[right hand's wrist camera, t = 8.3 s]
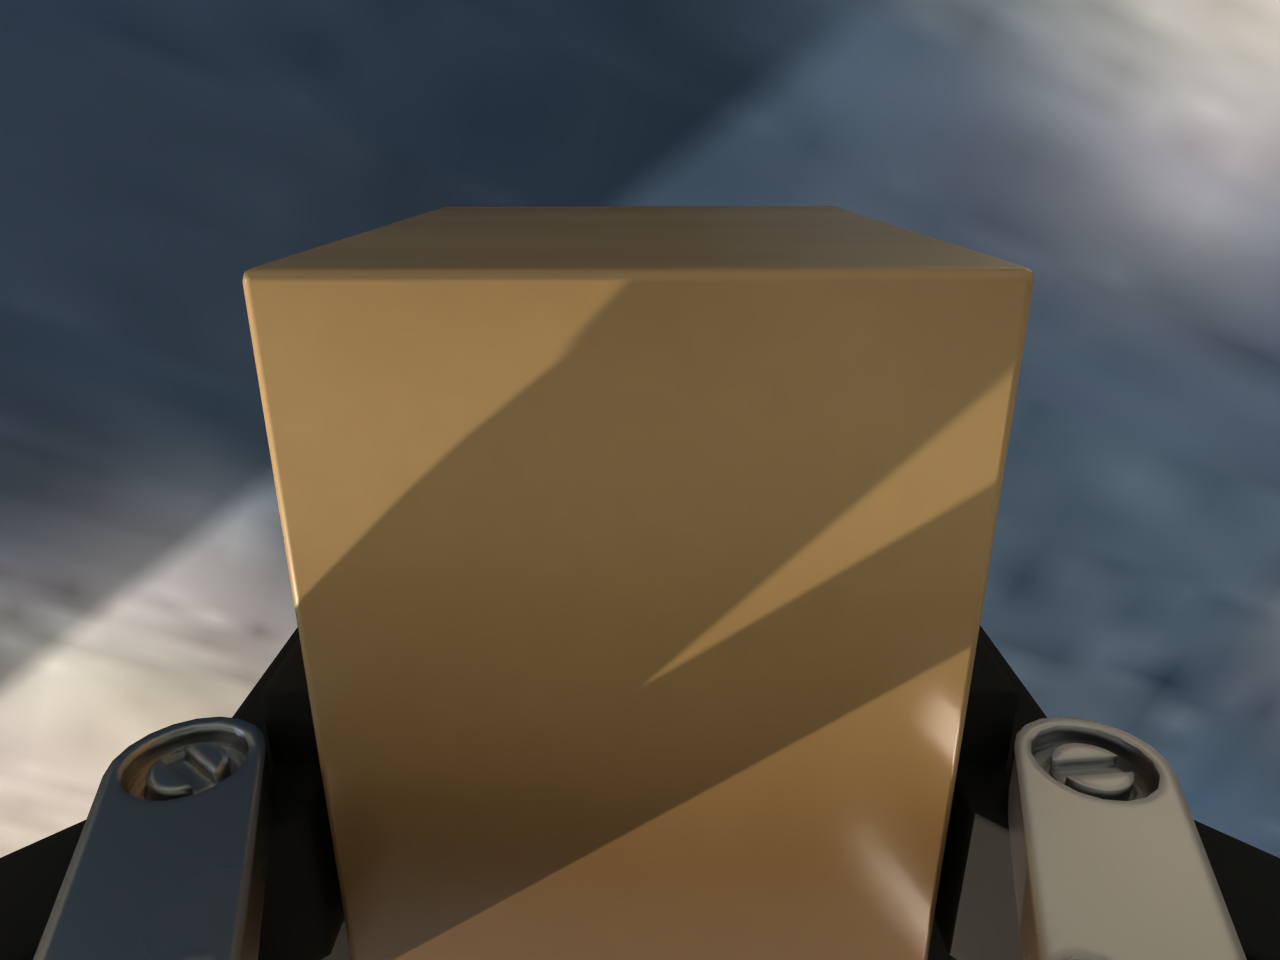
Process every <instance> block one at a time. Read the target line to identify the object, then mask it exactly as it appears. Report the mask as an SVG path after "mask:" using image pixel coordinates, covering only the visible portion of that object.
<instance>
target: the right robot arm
mask: <svg viewBox="0 0 1280 960" xmlns="http://www.w3.org/2000/svg"><path fill="white" fill-rule="evenodd" d="M0 960H351V954H350V948H349V941H348V935H347V929H346V923H345V917H344V910H343V904H342V898H341V892H340V885H339V879H338V873H337V867H336V860H335V854H334V848H333V842H332V836H331V829H330V823H329V817H328V811H327V804H326V798H325V792H324V786H323V780H322V773H321V767H320V761H319V755H318V748H317V742H316V736H315V730H314V723H313V717H312V711H311V705H310V699H309V692H308V686H307V680H306V674H305V667H304V661H303V655H302V649H301V643H300V636H299V630H298V628H297V629H296V630H295V632H294V633H293V634H292V636H291V637H290V639H289V640H288V641H287V643H286V644H285V645H284V647H283V648H282V650H281V651H280V652H279V654H278V655H277V657H276V658H275V659H274V661H273V662H272V663H271V665H270V666H269V668H268V669H267V670H266V672H265V673H264V674H263V676H262V677H261V679H260V680H259V681H258V683H257V684H256V686H255V687H254V688H253V690H252V691H251V692H250V694H249V695H248V697H247V698H246V699H245V701H244V702H243V703H242V705H241V706H240V708H239V709H238V710H237V712H236V713H235V715H234V716H233V717H232V718H227V717H211V718H200V719H194V720H190V721H186V722H182V723H178V724H174V725H171V726H168V727H166V728H163V729H161V730H158V731H156V732H154V733H151V734H149V735H147V736H146V737H144V738H142V739H141V740H139V741H137V742H135V743H134V744H132V745H130V746H129V747H128V748H127V749H125V750H124V751H123V752H122V753H121V754H120V755H119V756H118V757H116V758H115V759H114V760H113V761H112V763H111V764H110V766H109V767H108V769H107V771H106V772H105V774H104V775H103V778H102V780H101V783H100V785H99V788H98V791H97V793H96V796H95V799H94V801H93V804H92V806H91V809H90V812H89V814H88V817H87V820H85V821H82V822H80V823H78V824H76V825H73V826H71V827H69V828H67V829H64V830H62V831H60V832H58V833H55V834H53V835H51V836H49V837H46V838H44V839H42V840H40V841H37V842H35V843H33V844H31V845H29V846H26V847H24V848H22V849H20V850H17V851H15V852H13V853H11V854H8V855H6V856H4V857H2V858H0ZM927 960H1280V858H1278V857H1276V856H1273V855H1271V854H1269V853H1267V852H1264V851H1262V850H1260V849H1258V848H1255V847H1253V846H1251V845H1249V844H1246V843H1244V842H1242V841H1240V840H1237V839H1235V838H1233V837H1231V836H1228V835H1226V834H1224V833H1222V832H1220V831H1217V830H1215V829H1213V828H1211V827H1208V826H1206V825H1204V824H1202V823H1199V822H1197V821H1195V820H1193V817H1192V814H1191V812H1190V809H1189V806H1188V804H1187V801H1186V799H1185V796H1184V793H1183V791H1182V788H1181V785H1180V783H1179V780H1178V778H1177V775H1176V774H1175V772H1174V771H1173V769H1172V767H1171V766H1170V764H1169V763H1168V761H1167V760H1166V759H1165V758H1164V757H1162V756H1161V755H1160V754H1159V753H1158V752H1157V751H1156V750H1155V749H1153V748H1152V747H1151V746H1150V745H1148V744H1146V743H1145V742H1143V741H1141V740H1139V739H1138V738H1136V737H1134V736H1133V735H1131V734H1129V733H1126V732H1124V731H1122V730H1119V729H1117V728H1114V727H1112V726H1109V725H1106V724H1102V723H1098V722H1094V721H1090V720H1086V719H1080V718H1069V717H1053V718H1047V717H1046V716H1045V714H1044V713H1043V711H1042V710H1041V709H1040V707H1039V706H1038V705H1037V703H1036V702H1035V700H1034V699H1033V698H1032V696H1031V695H1030V693H1029V692H1028V691H1027V689H1026V688H1025V687H1024V685H1023V684H1022V682H1021V681H1020V680H1019V678H1018V677H1017V676H1016V674H1015V673H1014V671H1013V670H1012V669H1011V667H1010V666H1009V665H1008V663H1007V662H1006V660H1005V659H1004V658H1003V656H1002V655H1001V653H1000V652H999V651H998V649H997V648H996V647H995V645H994V644H993V642H992V641H991V640H990V638H989V637H988V636H987V634H986V633H985V631H984V630H983V629H982V627H981V626H980V627H979V634H978V640H977V647H976V653H975V659H974V666H973V672H972V679H971V685H970V691H969V698H968V704H967V710H966V717H965V723H964V730H963V736H962V742H961V749H960V755H959V761H958V768H957V774H956V781H955V787H954V793H953V800H952V806H951V812H950V819H949V825H948V832H947V838H946V844H945V851H944V857H943V863H942V870H941V876H940V883H939V889H938V895H937V902H936V908H935V914H934V921H933V927H932V934H931V940H930V946H929V953H928V959H927Z"/></svg>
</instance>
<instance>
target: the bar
mask: <svg viewBox="0 0 1280 960" xmlns="http://www.w3.org/2000/svg"><path fill="white" fill-rule="evenodd" d="M1033 283H1034V278H1033V273H1032V271H1031V270H1030V269H1027V268H1025V267H1023V266H1020V265H1017V264H1014V263H1011V262H1007V261H1004V260H1001V259H998V258H995V257H992V256H988V255H985V254H982V253H979V252H976V251H973V250H970V249H966V248H963V247H960V246H957V245H954V244H951V243H947V242H944V241H941V240H938V239H935V238H932V237H928V236H925V235H922V234H919V233H916V232H913V231H910V230H906V229H903V228H900V227H897V226H894V225H891V224H887V223H884V222H881V221H878V220H875V219H872V218H868V217H865V216H862V215H859V214H856V213H853V212H850V211H846V210H843V209H840V208H837V207H834V206H528V207H442V208H439V209H436V210H433V211H430V212H427V213H423V214H420V215H417V216H414V217H411V218H408V219H405V220H401V221H398V222H395V223H392V224H389V225H386V226H382V227H379V228H376V229H373V230H370V231H367V232H364V233H360V234H357V235H354V236H351V237H348V238H345V239H341V240H338V241H335V242H332V243H329V244H326V245H322V246H319V247H316V248H313V249H310V250H307V251H304V252H300V253H297V254H294V255H291V256H288V257H285V258H281V259H278V260H275V261H272V262H269V263H266V264H263V265H259V266H256V267H253V268H251V269H249V270H247V271H245V273H244V276H243V288H244V294H245V300H246V306H247V312H248V319H249V325H250V331H251V337H252V344H253V350H254V356H255V362H256V369H257V375H258V381H259V387H260V393H261V400H262V406H263V412H264V418H265V425H266V431H267V437H268V443H269V449H270V456H271V462H272V468H273V474H274V481H275V487H276V493H277V499H278V506H279V512H280V518H281V524H282V530H283V537H284V543H285V549H286V555H287V562H288V568H289V574H290V580H291V586H292V593H293V599H294V605H295V611H296V618H297V624H298V630H299V636H300V643H301V649H302V655H303V661H304V667H305V674H306V680H307V686H308V692H309V699H310V705H311V711H312V717H313V723H314V730H315V736H316V742H317V748H318V755H319V761H320V767H321V773H322V780H323V786H324V792H325V798H326V804H327V811H328V817H329V823H330V829H331V836H332V842H333V848H334V854H335V860H336V867H337V873H338V879H339V885H340V892H341V898H342V904H343V910H344V917H345V923H346V929H347V935H348V941H349V948H350V954H351V960H927V959H928V953H929V946H930V940H931V934H932V927H933V921H934V914H935V908H936V902H937V895H938V889H939V883H940V876H941V870H942V863H943V857H944V851H945V844H946V838H947V832H948V825H949V819H950V812H951V806H952V800H953V793H954V787H955V781H956V774H957V768H958V761H959V755H960V749H961V742H962V736H963V730H964V723H965V717H966V710H967V704H968V698H969V691H970V685H971V679H972V672H973V666H974V659H975V653H976V647H977V640H978V634H979V627H980V621H981V615H982V608H983V602H984V596H985V589H986V583H987V576H988V570H989V564H990V557H991V551H992V545H993V538H994V532H995V525H996V519H997V513H998V506H999V500H1000V494H1001V487H1002V481H1003V474H1004V468H1005V462H1006V455H1007V449H1008V443H1009V436H1010V430H1011V423H1012V417H1013V411H1014V404H1015V398H1016V392H1017V385H1018V379H1019V372H1020V366H1021V360H1022V353H1023V347H1024V341H1025V334H1026V328H1027V321H1028V315H1029V309H1030V302H1031V296H1032V290H1033Z"/></svg>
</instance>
